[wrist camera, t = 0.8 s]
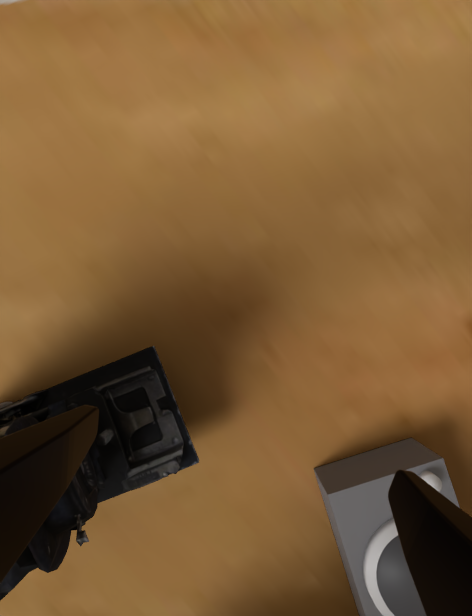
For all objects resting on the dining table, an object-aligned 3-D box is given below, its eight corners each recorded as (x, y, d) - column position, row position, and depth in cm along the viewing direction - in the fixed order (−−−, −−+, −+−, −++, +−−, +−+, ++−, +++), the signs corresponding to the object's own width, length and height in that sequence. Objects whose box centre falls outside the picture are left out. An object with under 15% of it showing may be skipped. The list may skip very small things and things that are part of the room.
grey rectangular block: (462, 592, 22) (518, 658, 18) (362, 625, 22) (393, 700, 18) (411, 437, 23) (453, 464, 19) (313, 468, 23) (332, 503, 18)
